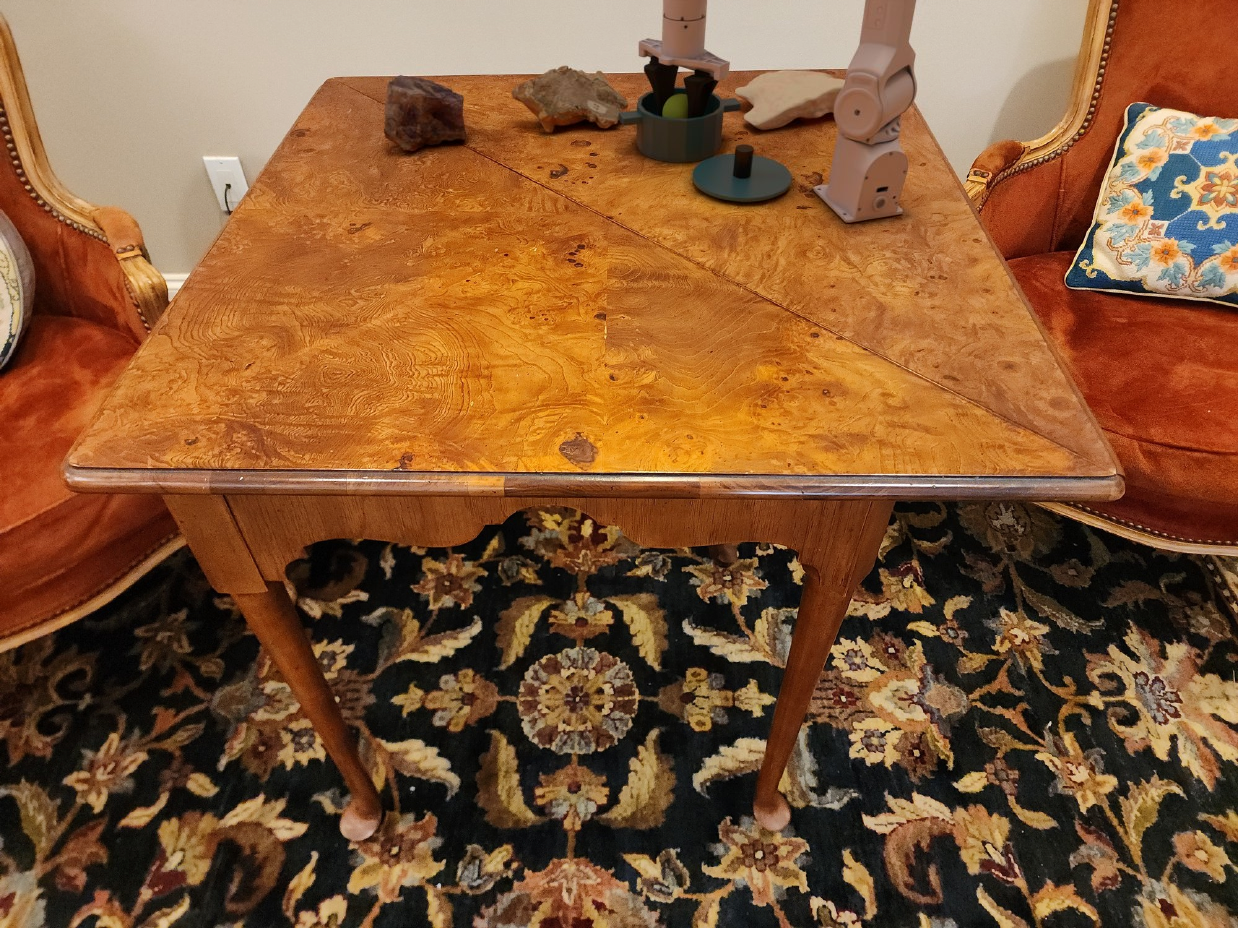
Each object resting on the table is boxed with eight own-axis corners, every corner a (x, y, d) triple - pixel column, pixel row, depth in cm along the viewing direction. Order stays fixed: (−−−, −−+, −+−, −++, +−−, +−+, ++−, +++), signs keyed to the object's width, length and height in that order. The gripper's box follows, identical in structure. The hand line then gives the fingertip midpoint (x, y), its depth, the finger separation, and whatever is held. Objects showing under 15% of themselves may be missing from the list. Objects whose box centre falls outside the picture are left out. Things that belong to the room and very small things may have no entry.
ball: (701, 135, 108) (703, 99, 105) (668, 140, 107) (669, 103, 104) (689, 122, 112) (691, 86, 108) (657, 126, 111) (658, 90, 107)
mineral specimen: (558, 174, 119) (636, 122, 120) (557, 158, 112) (641, 102, 113) (511, 103, 118) (590, 51, 119) (507, 82, 111) (592, 26, 112)
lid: (807, 197, 99) (813, 162, 96) (712, 212, 97) (715, 177, 93) (766, 156, 108) (770, 122, 105) (678, 168, 106) (680, 134, 102)
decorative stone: (840, 55, 124) (888, 82, 113) (835, 88, 127) (881, 117, 116) (717, 70, 120) (754, 99, 109) (715, 104, 123) (751, 135, 113)
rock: (468, 157, 112) (459, 128, 118) (469, 97, 106) (459, 70, 112) (386, 155, 108) (381, 126, 115) (381, 93, 102) (377, 65, 109)
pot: (750, 153, 109) (755, 111, 104) (633, 170, 105) (633, 127, 101) (719, 121, 117) (722, 80, 112) (609, 135, 113) (608, 94, 109)
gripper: (623, 10, 100) (623, 115, 110) (708, 34, 93) (701, 144, 103) (658, -1, 104) (656, 101, 114) (743, 20, 97) (733, 128, 107)
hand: (679, 121), depth 109 cm, fingers closed on ball, 5 cm apart
